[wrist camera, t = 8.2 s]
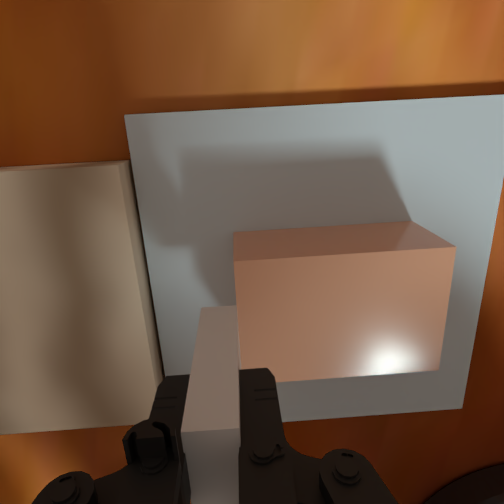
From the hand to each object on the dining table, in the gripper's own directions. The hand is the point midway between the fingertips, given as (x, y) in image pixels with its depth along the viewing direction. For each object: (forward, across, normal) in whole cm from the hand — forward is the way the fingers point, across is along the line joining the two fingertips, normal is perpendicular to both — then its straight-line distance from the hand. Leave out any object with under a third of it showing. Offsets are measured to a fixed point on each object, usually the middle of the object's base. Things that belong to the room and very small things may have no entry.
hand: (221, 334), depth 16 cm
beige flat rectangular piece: (+5, +13, 0) cm, 14 cm away
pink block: (+4, -5, 0) cm, 7 cm away
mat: (+5, -5, 0) cm, 7 cm away
